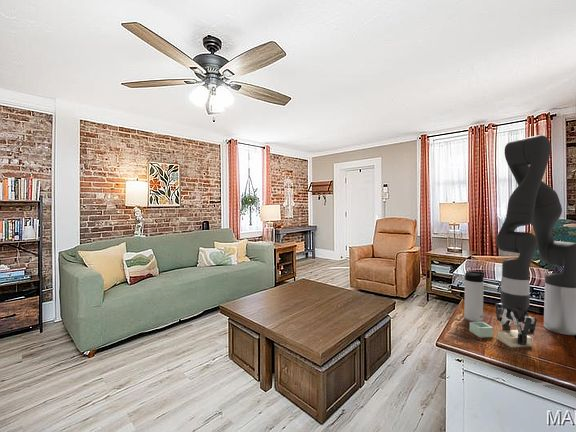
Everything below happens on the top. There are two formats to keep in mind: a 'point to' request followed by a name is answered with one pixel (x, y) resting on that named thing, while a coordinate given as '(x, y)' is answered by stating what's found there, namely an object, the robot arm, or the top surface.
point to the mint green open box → (481, 329)
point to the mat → (513, 347)
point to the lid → (512, 338)
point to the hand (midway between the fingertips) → (513, 339)
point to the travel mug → (473, 296)
